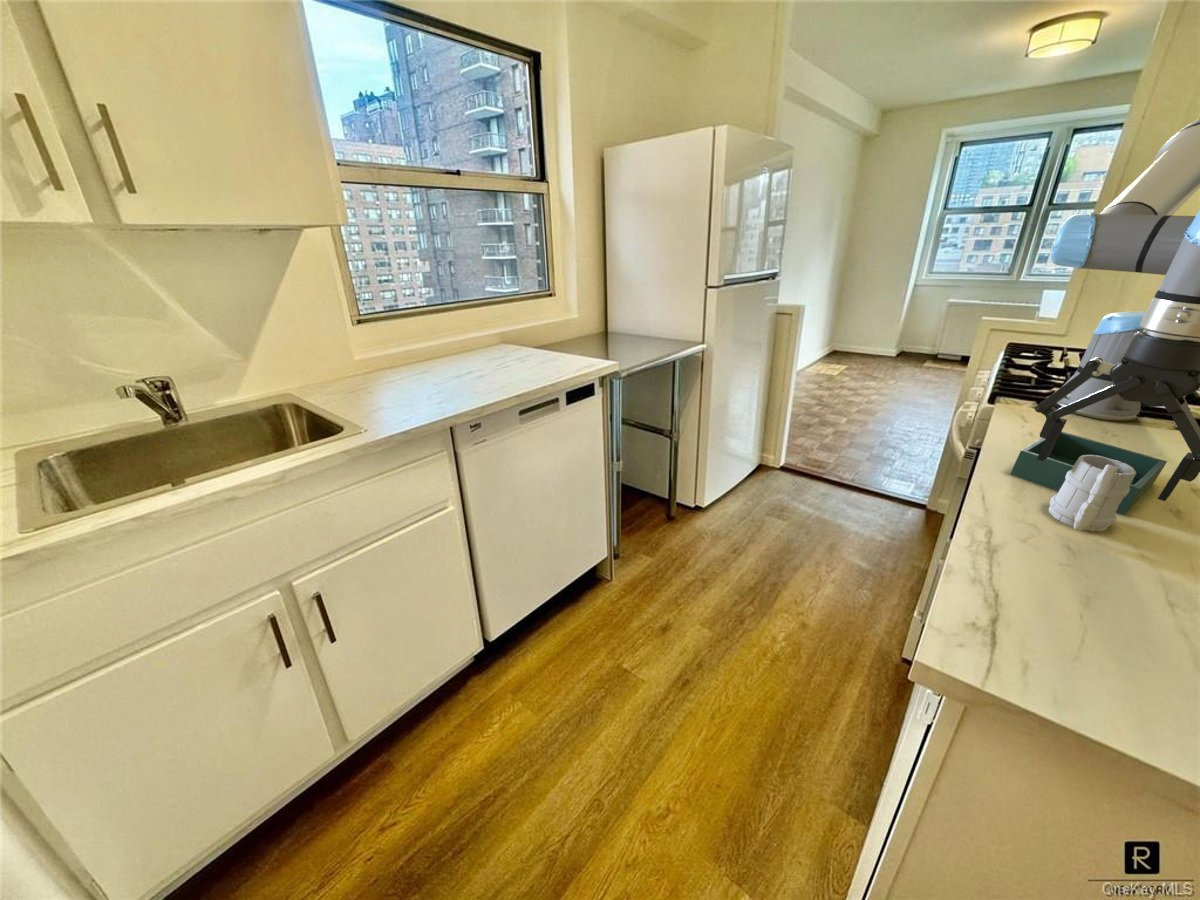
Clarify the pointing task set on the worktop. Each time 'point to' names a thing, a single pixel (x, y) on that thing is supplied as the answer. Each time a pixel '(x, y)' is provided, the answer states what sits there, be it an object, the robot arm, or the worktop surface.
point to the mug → (1092, 493)
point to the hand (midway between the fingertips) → (1098, 476)
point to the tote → (1067, 455)
